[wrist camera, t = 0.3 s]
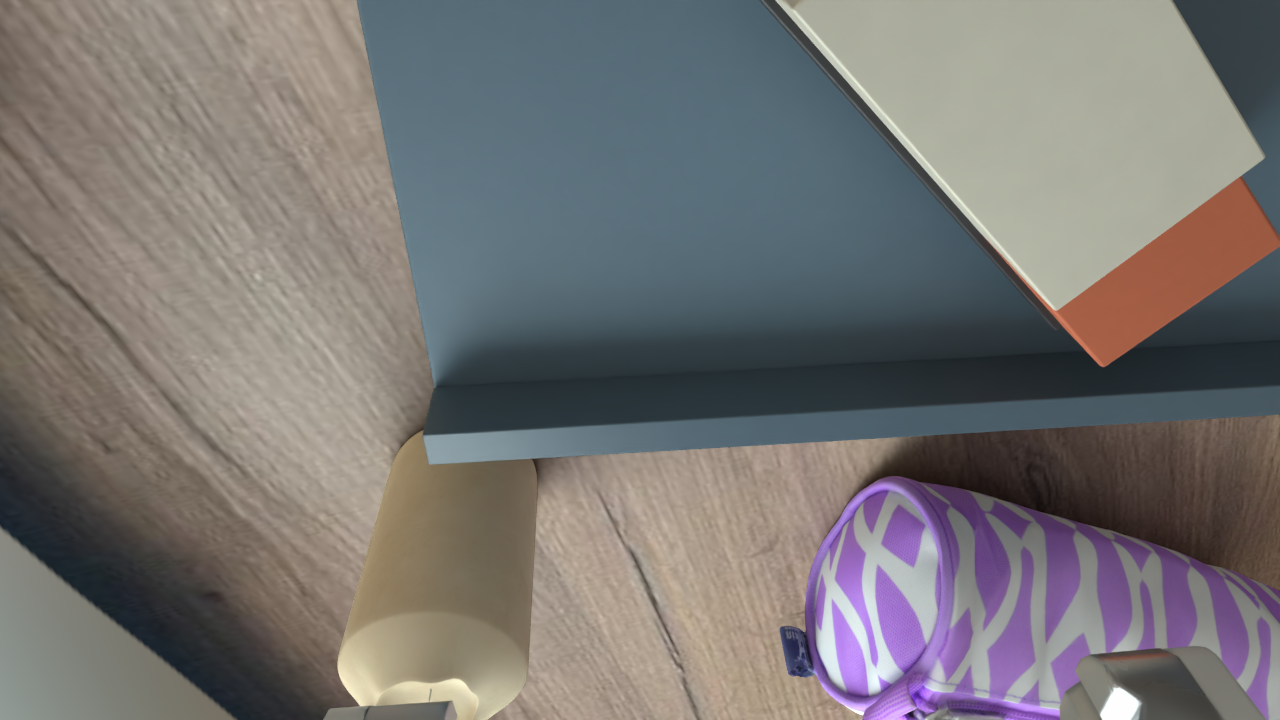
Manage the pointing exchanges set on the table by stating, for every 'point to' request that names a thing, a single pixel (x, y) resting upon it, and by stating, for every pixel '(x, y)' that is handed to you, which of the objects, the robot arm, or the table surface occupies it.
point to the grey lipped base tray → (742, 244)
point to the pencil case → (1006, 607)
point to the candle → (445, 587)
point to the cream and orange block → (1059, 145)
